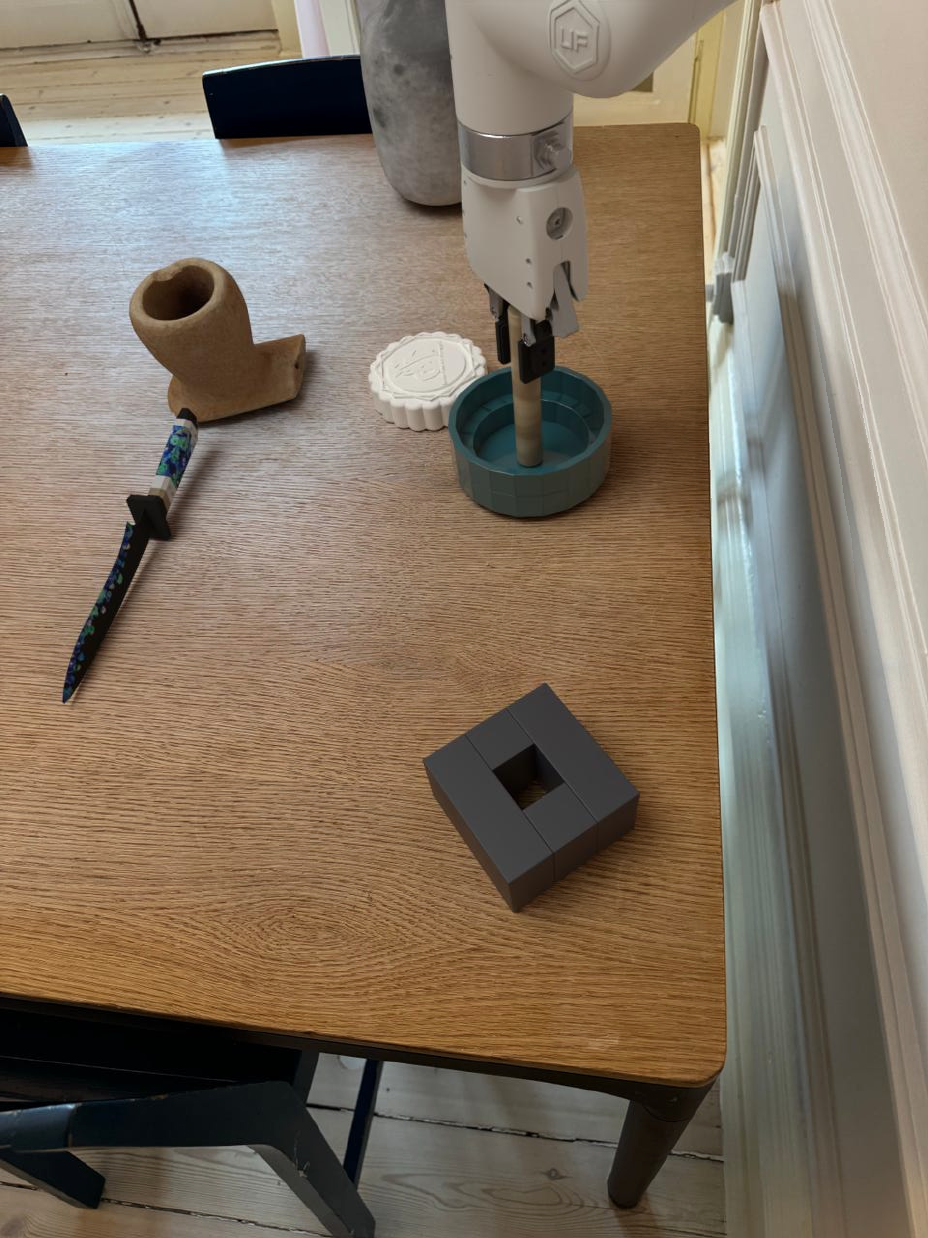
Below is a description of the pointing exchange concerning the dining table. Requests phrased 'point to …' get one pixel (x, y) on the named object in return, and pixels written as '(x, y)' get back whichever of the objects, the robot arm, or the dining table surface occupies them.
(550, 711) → the holder
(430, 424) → the mooncake
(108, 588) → the knife
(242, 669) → the dining table surface
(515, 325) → the stick
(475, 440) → the bowl
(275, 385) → the brown hollow clay piece
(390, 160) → the vase
